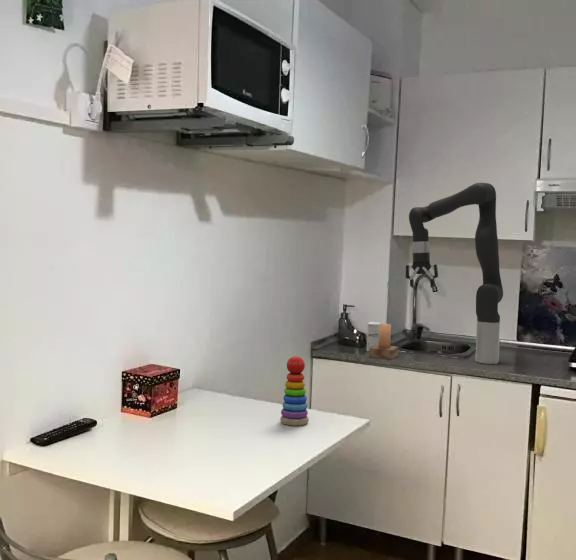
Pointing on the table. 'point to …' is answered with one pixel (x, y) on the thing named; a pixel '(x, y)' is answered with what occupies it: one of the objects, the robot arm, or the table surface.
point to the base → (383, 352)
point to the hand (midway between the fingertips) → (422, 287)
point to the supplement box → (372, 334)
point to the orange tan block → (384, 335)
